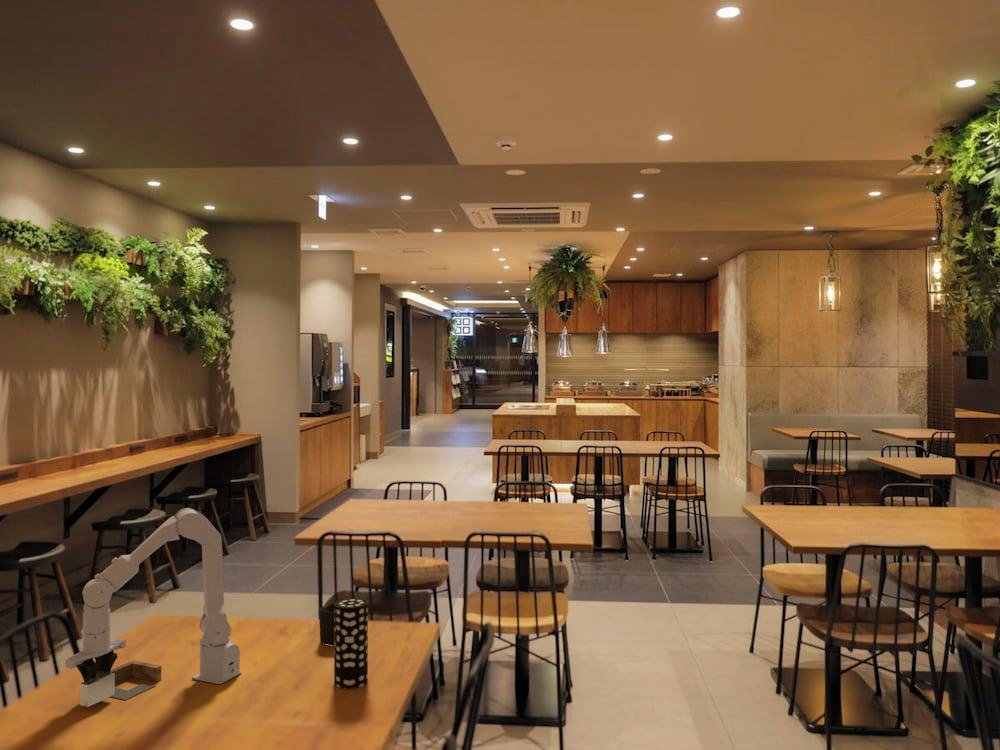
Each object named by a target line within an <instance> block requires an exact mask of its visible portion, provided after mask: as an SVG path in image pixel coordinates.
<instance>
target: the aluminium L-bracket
mask: <svg viewBox="0 0 1000 750" xmlns="http://www.w3.org/2000/svg"><path fill="white" fill-rule="evenodd" d="M79 686H80V688H79V690H80V691H79V696H80V697H79V701H80V702H79V705H80V706H83V707H87V708H89V707H91V706H93V705H96V704H97V703H100V702H102V701H104V700H106V699H108V698H112V697H111V696H113V695H115V688H116V687H115V686H116V685H115V674H114V673H109V672H105V671H100V670H97V674H96V677H94V678H92V679H90V680H87V681H85V682H84V681H83V682H80V683H79Z"/></svg>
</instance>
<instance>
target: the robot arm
mask: <svg viewBox="0 0 1000 750" xmlns="http://www.w3.org/2000/svg"><path fill="white" fill-rule="evenodd" d="M180 536H182V537H183V538H187V539H189V540H193V541H195V542H196V543H198V544H200V545H201V554H202V556H201V559H202V582H203V583H202V584H203V587H202V588H203V608H202V617H201V619H200V621H199V629H200V631H201V632H202V635H203V636H201V639H200V640H199V673H196V674H195V675H193V676H192V677H191V679H193V680H197V681H201V682H206V683H211V684H217V685H221V684H223V683H225V682H227V681H229V680H231V679H233V678H235V677H237V676H238V675H240V674H242V673H243V671H242V670H240V667H241V666H240V660H241V659H240V656H241V654H240V648H239V646H238V645H237V644H236V643H233V642H232V641H231V634H232V633H231V631H232V628H231V624H230V623H229V622H228V618H227V617H228V616H227V611H226V607H225V596H224V594H225V593H224V591H225V590H224V589H225V588H224V571H223V570H224V567H223V544H222V543H223V540H222V539H223V538H222V535H221V534H220V532H219V531H218V530H217V529H216V528H215V526H214V525H213V524H212V523H211V521H210V520H209V519H208V518H207V517H206V516H205V515H204V514H203V513H201V512H199V511H197V510H196V509H193V508H191V507H185V508H181V509H179V510H178V511H177V512H176V513H175V514H174V515H172V516H171V517H169V518H167V520H165V521H164V522H162V524H161V525H160V526H159V527H158V528H156V529H155V530H154V531H153V532H152V533H151V535H149V536H148V537H147V538H146V539H145V540H143V542H142V543H141V544H140V545H139V546H138V547H136V549H135V550H133V551H132V552H131V553H130V554H123V555H120V556H119V557H118V558H117V557H113V558H112V560H111V564H110V565H109V566H107V567H106V568H105V569H104V570H103V571H102V572H100V573H97V574H96V575H94V578H95V579H94V578H93V579H91V580H89V581H88V582H87V583H86V584H85V585H84V587H83V590H82V598H83V602H84V604H83V613H82V647H81V650H80V651H79V652H77V653H75V654H73V655H72V656H70V657H68V658H65V668H66V669H71V670H72V669H74V668H75V667H76V668H77V670H78V671H79V673H80V674H81V676H82V679H83V682H85V681H87V680H90V679H92V678H94V677H96V674H97V670H100V671H105V672H109V673H110V671H111V670H112V669H113V667H114V666H113V665H114V664H115V662H116V660H117V659H118V653H117V652H114V651H117V650H120V649H124V648H126V647H127V646H126V644H127V643H126V642H127V641H126V639H124V638H118V639H114V640H111V608H110V601H111V599H112V596H113V595H112V594H113V593H115V592H117V591H118V590H120V589H121V588H122V587H124V585H125V584H126V583H128V582H129V581H130V580H131V579H132V578H133V577H134V576H135V575H136V574H138V573H139V571H140V568H139V567H140V565H141V563H143V562H144V561H145V560H146V559H147V558H148V557H149V556H151V555H152V554H154V552H156V551H157V550H158V549H159V548H161V547H162V546H163V545H164V544H165V543H167V542H172V541H179V540H180Z"/></svg>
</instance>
